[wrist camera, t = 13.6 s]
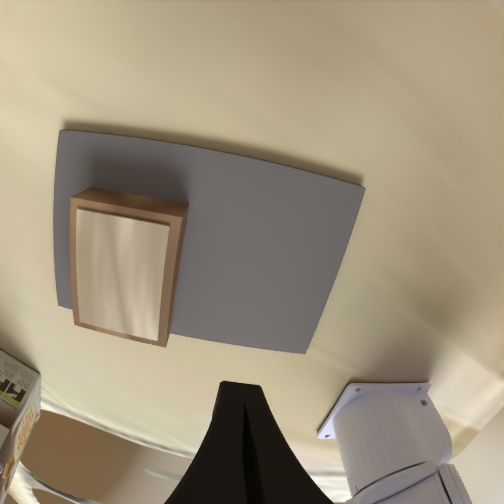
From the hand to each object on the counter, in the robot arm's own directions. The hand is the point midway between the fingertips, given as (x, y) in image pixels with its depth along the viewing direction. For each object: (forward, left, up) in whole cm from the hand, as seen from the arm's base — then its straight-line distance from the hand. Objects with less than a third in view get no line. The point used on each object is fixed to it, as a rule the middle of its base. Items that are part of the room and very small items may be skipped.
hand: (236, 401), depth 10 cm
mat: (+3, -1, -10) cm, 10 cm away
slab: (+3, 0, -8) cm, 9 cm away
